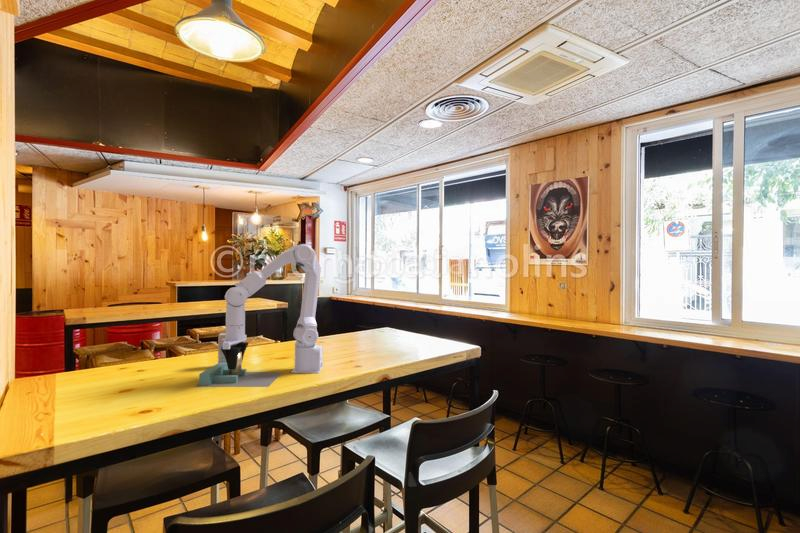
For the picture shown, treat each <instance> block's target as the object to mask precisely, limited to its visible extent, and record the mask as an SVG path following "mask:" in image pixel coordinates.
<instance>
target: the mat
mask: <svg viewBox="0 0 800 533" xmlns="http://www.w3.org/2000/svg"><path fill="white" fill-rule="evenodd" d="M282 374H283V371H281V372H280V371H276V372H275V371H270V372H269V371H246V376H238V382H237V383H212V384H211V385H209V386H199V383H198V384H196V385H194V388H201V387H202V388H203V387H204V388H208V387H209V388H211V387H212V388H217V387H218V388H219V387H220V388H221V387H222V388H224V387H225V388H231V387H232V388H246V387H247V388H248V387H249V388H269V387H270V386H271V385H273V383H274V382H275V381H276V380H277V379H278V378H279V377H280V375H282Z"/></svg>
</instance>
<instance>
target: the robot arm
mask: <svg viewBox="0 0 800 533" xmlns="http://www.w3.org/2000/svg"><path fill="white" fill-rule="evenodd" d="M289 264H296V265H298V266H299V267H300V268H301V269H302V270H303V272H304V282H303V290H302V300H301V305H300V306H301V307H300V314H299V317H298V320H297V323H296V327H295V328H294V329H293V334H292V335H293V338H294V340H296V341H295V342H294V368H293V369H292V370H291V374H320V372H321V371H322V369H323V367H324V366H323V364H324V363H323V358H324V357H323V356H324V352H323V346H322V345H321V344H317V342H318V341H319V332H318V329H317V328H318V324H317V321H316V312H317V304H318V296H319V288H320V280H321V272H322V270H321V269H322V268H321V264H320V263H319V260H318V257H317V253H316V250H314V248H312V247H311V246H310V245H309V244H307V243H301V244H295V245H292V246H290V248H287V249H286V250H284V251H282V253H280V254H279V255H277V256H276V257H274V259H273V260H271V261H270V262H269V263H267V264H266V265H265V266H264V267H263V268H262V269H260V270H259V271H257V270H253V271H252V272H251V271H249V272H247V273H246V277H244V278H243V279H242V280H240V281H238V282H235V283H234V286H233V287H230V288H229V289H227V291H226V292H225V295H224V300H225V302H226V306H225V308H226V310H225V333H226V338H223V339H222V341H224V343H223V347H221V351H222V352H223V354H224V356H225V358H226V362H227V366H228V369H236V366H237V359H238V355H239V352H240V351H242V361H243V359H244V355H245V353H246V350H247V347H248V345H249V341H248V342H247V336H248V335H247V334H246V309H245V306H246V305H245V304H246V303H247V300H248V298H250V297H251V296H253V295H254V294H256V292H258V291H259V290H260V289H262V288H263V287H264V286H265V285H266V281H267V278H269V277H271V276H272V275H273V274H275V273H276V272H277V271H278V270H280V269H281V268H283V267H285V265H289Z"/></svg>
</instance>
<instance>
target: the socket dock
mask: <svg viewBox="0 0 800 533" xmlns="http://www.w3.org/2000/svg"><path fill="white" fill-rule="evenodd" d="M246 372H248V371H247V368H242V374H241V375H228V366H227V362H219V363H218V362H217V363H216V364H214V365H213V366H211V367H209V368H207V369H206V370H204V371H202V372H200V373H199V375H198V384H199V386H209V385H211V384H212V383H237V382H238V376H246Z"/></svg>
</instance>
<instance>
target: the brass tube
mask: <svg viewBox="0 0 800 533" xmlns="http://www.w3.org/2000/svg"><path fill="white" fill-rule="evenodd" d="M242 363H243V360H242V351H240V352H239V355H238V359H237V366H236V369H228V375H241V374H242V369H243V368H242V367H243V366H242Z"/></svg>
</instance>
